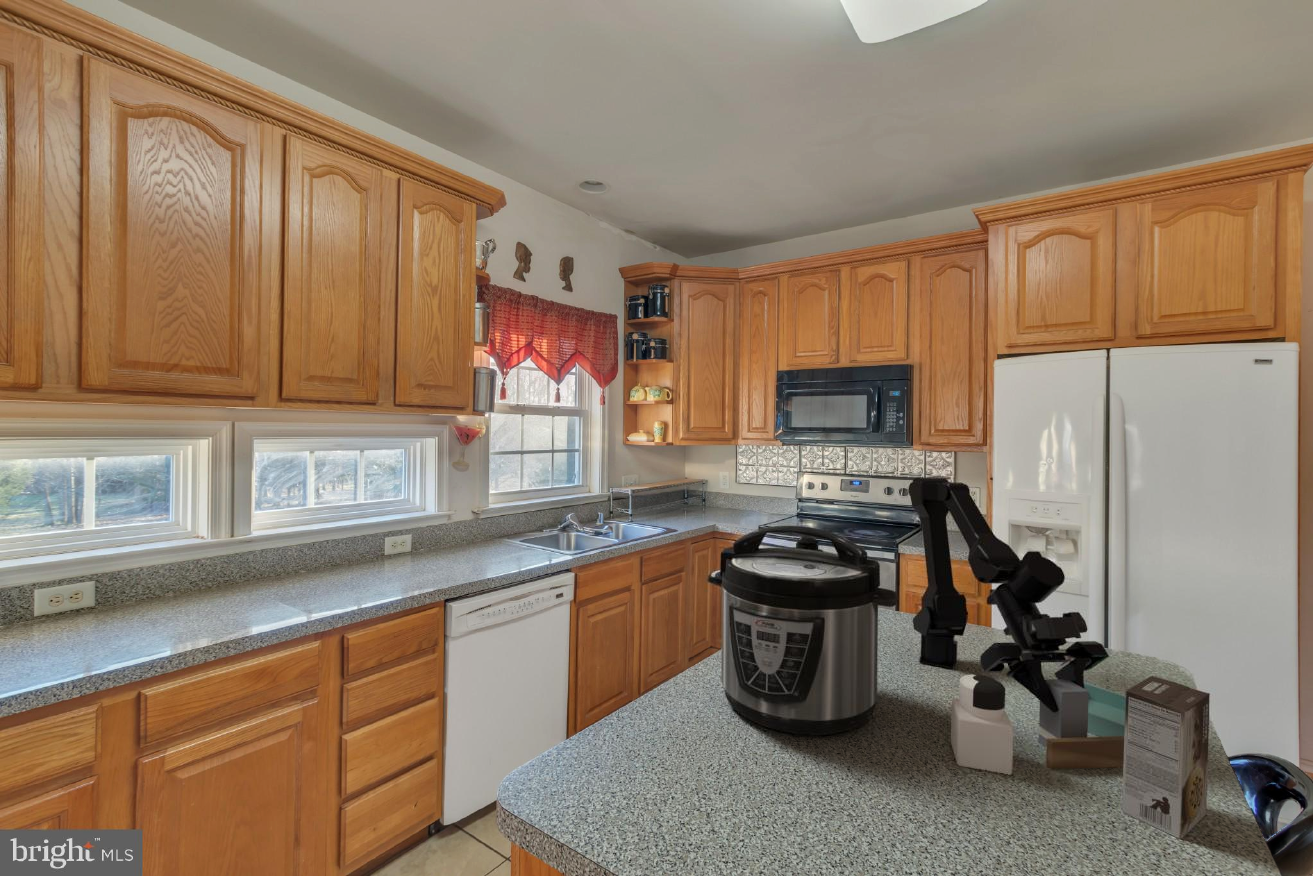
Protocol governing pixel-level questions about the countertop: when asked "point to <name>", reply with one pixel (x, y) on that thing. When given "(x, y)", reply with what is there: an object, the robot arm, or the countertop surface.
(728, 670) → the pressure cooker
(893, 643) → the countertop surface
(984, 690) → the medicine bottle
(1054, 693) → the grey upright cuboid
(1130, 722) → the coffee box
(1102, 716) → the tray
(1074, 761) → the back rail
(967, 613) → the robot arm
